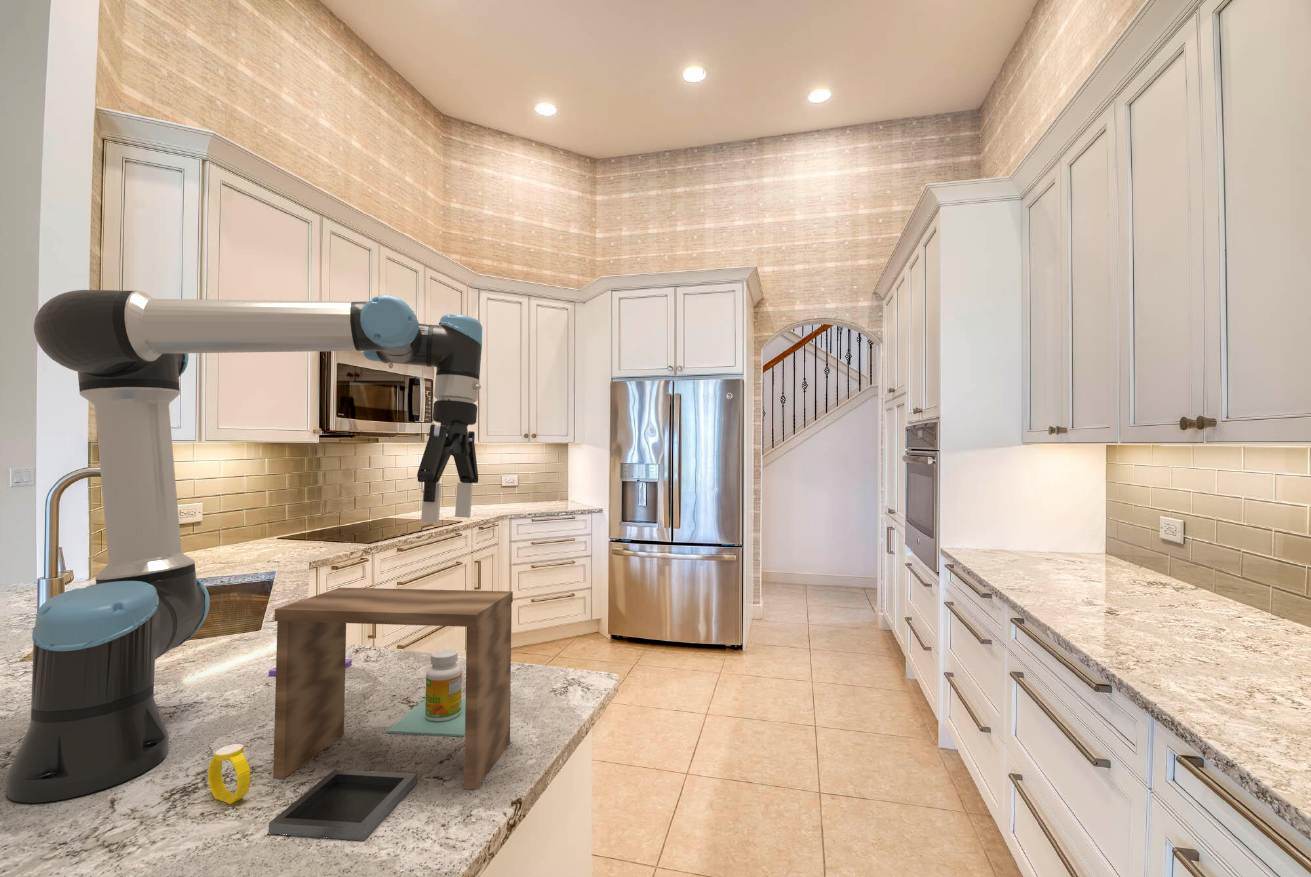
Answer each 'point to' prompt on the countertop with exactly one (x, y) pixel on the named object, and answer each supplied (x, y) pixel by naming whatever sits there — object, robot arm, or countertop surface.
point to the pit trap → (344, 805)
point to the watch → (241, 771)
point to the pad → (429, 723)
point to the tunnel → (319, 624)
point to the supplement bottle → (443, 686)
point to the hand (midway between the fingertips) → (447, 519)
